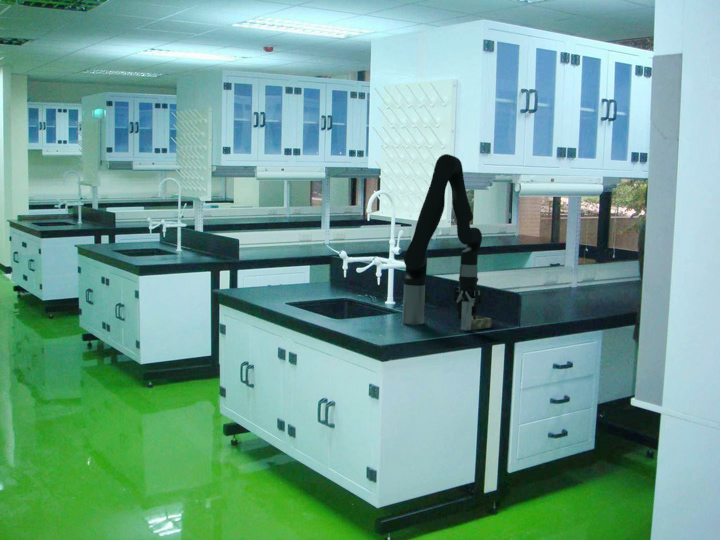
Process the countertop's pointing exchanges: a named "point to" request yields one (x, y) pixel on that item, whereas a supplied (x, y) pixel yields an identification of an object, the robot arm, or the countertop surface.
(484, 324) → the slot block
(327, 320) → the countertop surface
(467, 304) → the grey rectangular bar
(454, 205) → the robot arm
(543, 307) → the countertop surface
